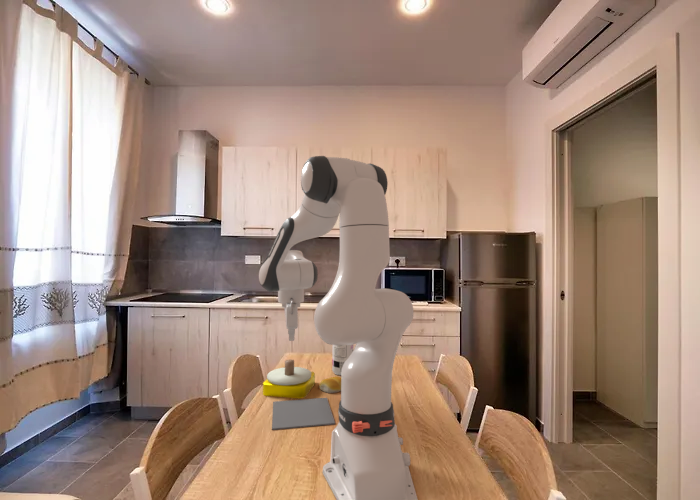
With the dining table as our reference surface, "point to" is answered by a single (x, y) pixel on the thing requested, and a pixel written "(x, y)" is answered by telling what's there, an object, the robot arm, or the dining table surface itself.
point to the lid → (289, 374)
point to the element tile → (289, 389)
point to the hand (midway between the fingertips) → (291, 337)
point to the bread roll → (331, 384)
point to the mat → (301, 413)
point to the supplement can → (340, 357)
